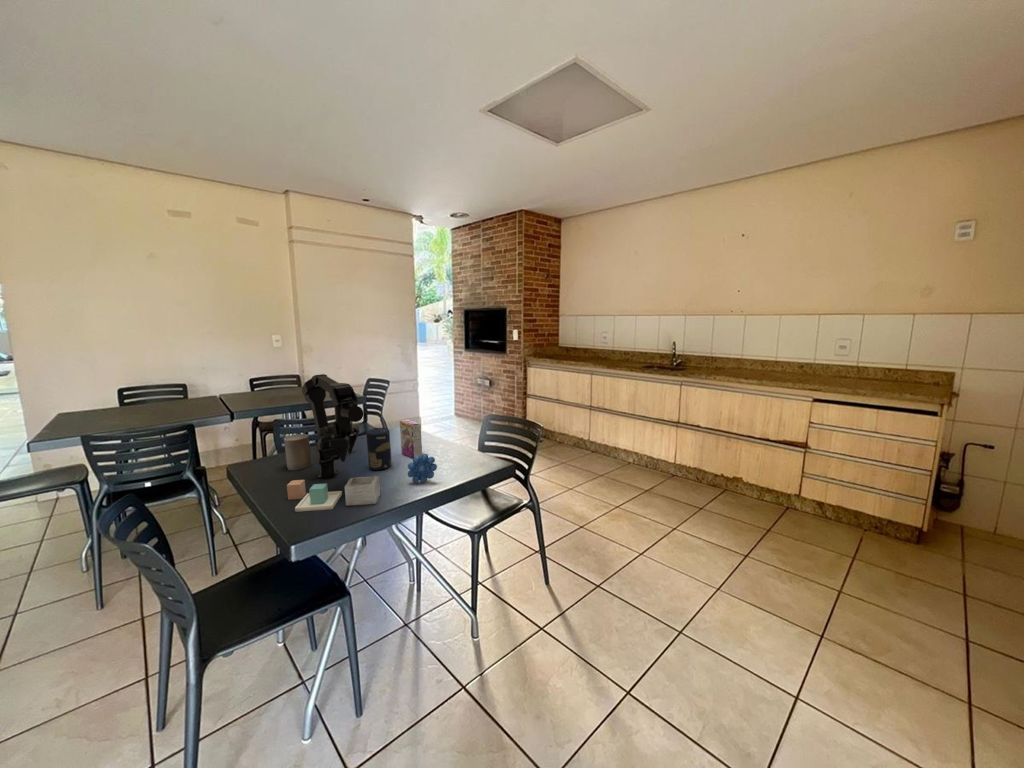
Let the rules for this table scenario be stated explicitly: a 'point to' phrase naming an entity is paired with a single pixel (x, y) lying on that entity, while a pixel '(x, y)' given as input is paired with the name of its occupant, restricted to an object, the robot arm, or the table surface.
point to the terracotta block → (296, 489)
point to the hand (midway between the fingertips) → (346, 457)
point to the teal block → (318, 493)
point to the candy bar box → (411, 438)
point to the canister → (378, 448)
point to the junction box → (362, 491)
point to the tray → (329, 504)
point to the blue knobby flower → (422, 468)
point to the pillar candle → (297, 451)
